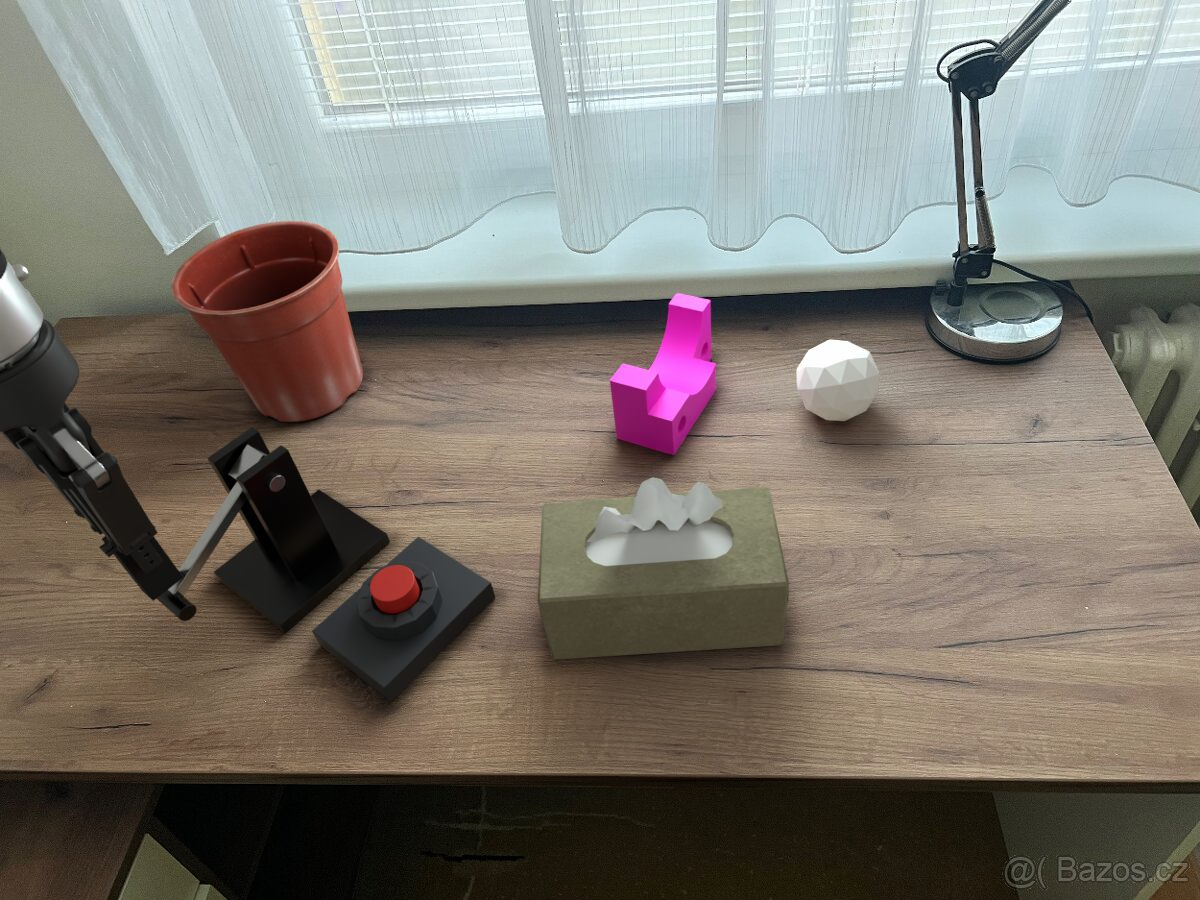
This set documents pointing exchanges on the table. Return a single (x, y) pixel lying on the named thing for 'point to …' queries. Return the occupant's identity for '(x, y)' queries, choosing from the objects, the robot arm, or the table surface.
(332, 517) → the bracket
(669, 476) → the table surface
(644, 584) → the tissue box
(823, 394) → the ball
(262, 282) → the flower pot
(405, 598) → the button
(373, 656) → the button block
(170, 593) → the lever
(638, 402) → the toy block
